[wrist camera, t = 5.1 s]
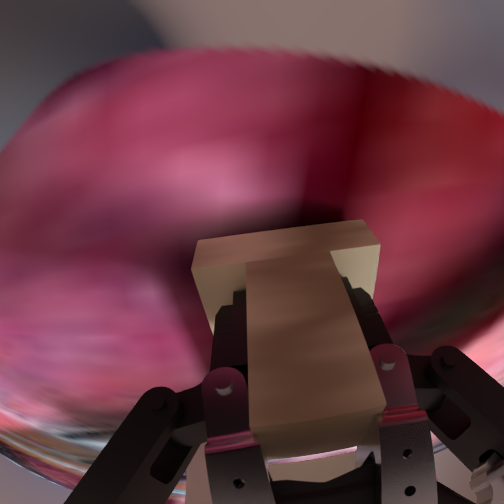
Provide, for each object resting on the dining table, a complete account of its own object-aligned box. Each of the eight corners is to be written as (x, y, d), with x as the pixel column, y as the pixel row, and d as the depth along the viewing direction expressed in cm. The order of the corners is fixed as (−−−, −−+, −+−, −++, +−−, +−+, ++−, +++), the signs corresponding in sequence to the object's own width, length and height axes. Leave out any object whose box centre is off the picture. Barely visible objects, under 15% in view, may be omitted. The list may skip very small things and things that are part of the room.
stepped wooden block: (362, 219, 12) (458, 379, 5) (336, 404, 21) (353, 490, 14) (197, 240, 12) (161, 427, 5) (252, 415, 22) (256, 503, 15)
